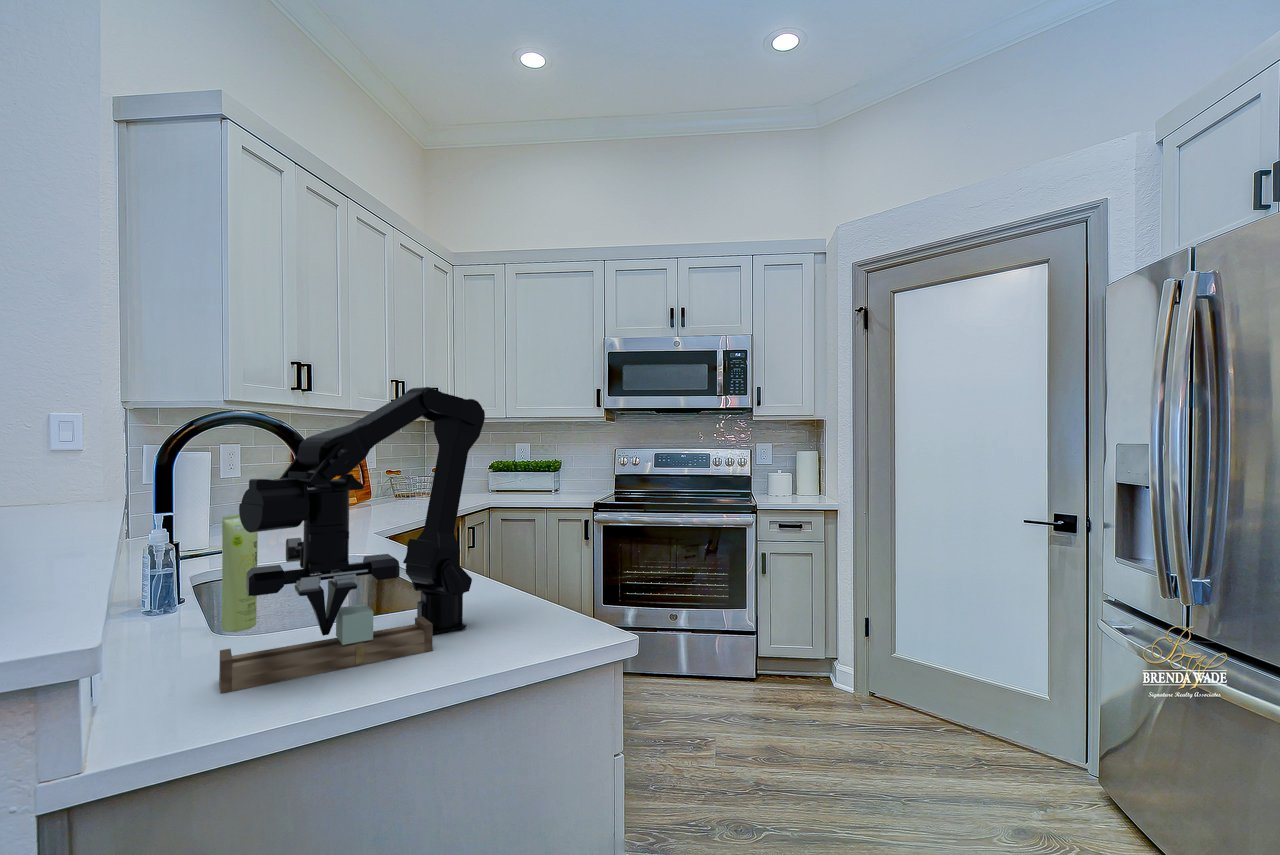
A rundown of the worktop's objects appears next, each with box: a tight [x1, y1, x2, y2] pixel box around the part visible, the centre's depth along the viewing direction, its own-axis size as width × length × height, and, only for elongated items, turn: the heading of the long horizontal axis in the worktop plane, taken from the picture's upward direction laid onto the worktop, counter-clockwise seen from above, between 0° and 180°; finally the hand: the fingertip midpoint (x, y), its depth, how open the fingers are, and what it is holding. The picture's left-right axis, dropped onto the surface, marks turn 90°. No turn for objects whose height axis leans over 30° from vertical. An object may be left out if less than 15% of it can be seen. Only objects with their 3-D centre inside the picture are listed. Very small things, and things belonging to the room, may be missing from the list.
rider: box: [335, 603, 374, 645], centre depth 87 cm, size 4×5×6 cm
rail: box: [218, 616, 434, 694], centre depth 86 cm, size 26×5×4 cm, turn 126°
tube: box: [221, 513, 259, 633], centre depth 102 cm, size 6×5×20 cm
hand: (325, 634), depth 85 cm, fingers closed
